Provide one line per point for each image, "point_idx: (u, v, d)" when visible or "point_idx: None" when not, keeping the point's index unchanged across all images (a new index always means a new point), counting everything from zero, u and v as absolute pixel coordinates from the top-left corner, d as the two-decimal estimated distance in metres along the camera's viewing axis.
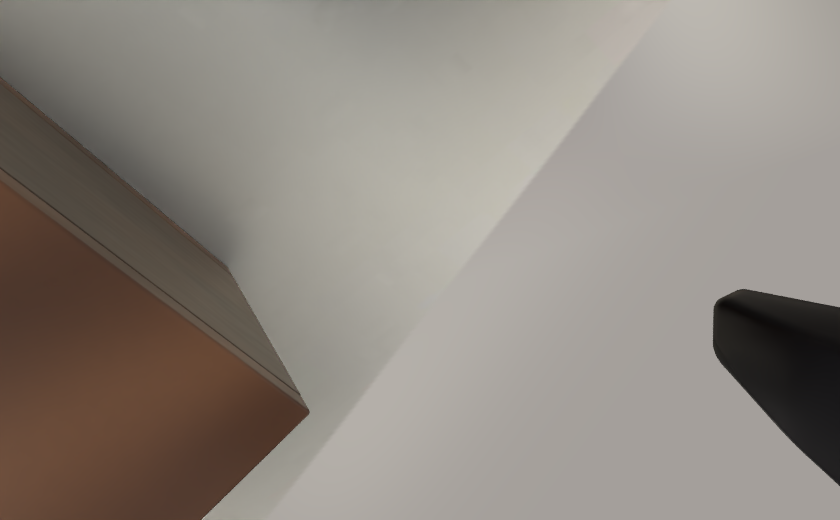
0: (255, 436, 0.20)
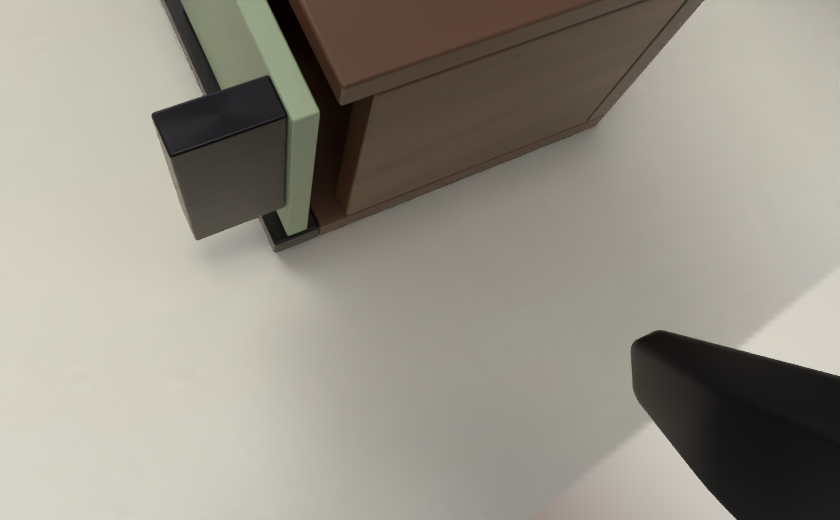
0: None
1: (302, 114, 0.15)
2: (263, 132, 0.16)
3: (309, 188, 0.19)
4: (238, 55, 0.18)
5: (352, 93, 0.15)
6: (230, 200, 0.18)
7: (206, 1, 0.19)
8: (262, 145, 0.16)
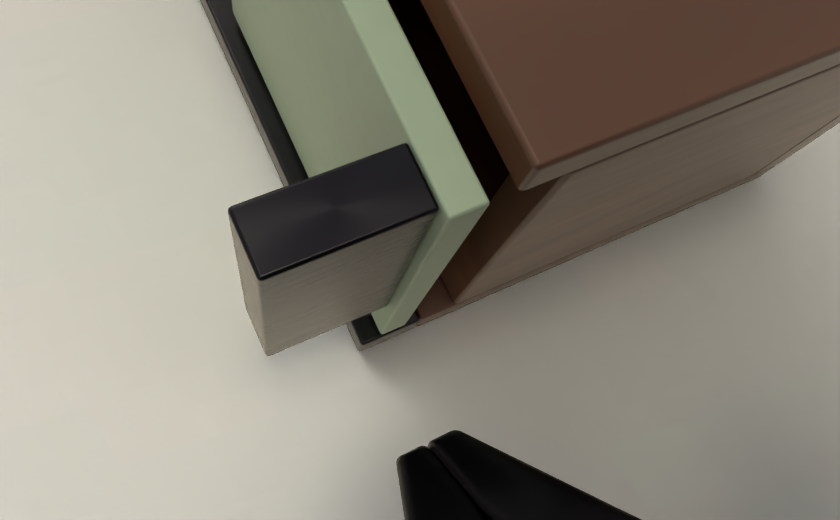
0: None
1: (463, 208, 0.10)
2: (399, 233, 0.10)
3: (430, 286, 0.14)
4: (338, 101, 0.12)
5: (545, 174, 0.10)
6: (324, 312, 0.13)
7: (286, 21, 0.14)
8: (390, 248, 0.11)
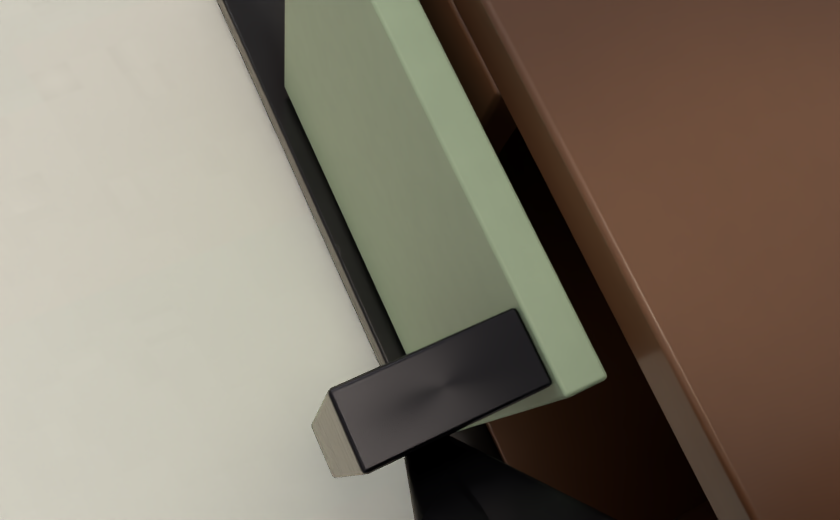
0: None
1: (579, 384, 0.09)
2: None
3: None
4: (420, 226, 0.12)
5: None
6: None
7: (358, 128, 0.13)
8: None
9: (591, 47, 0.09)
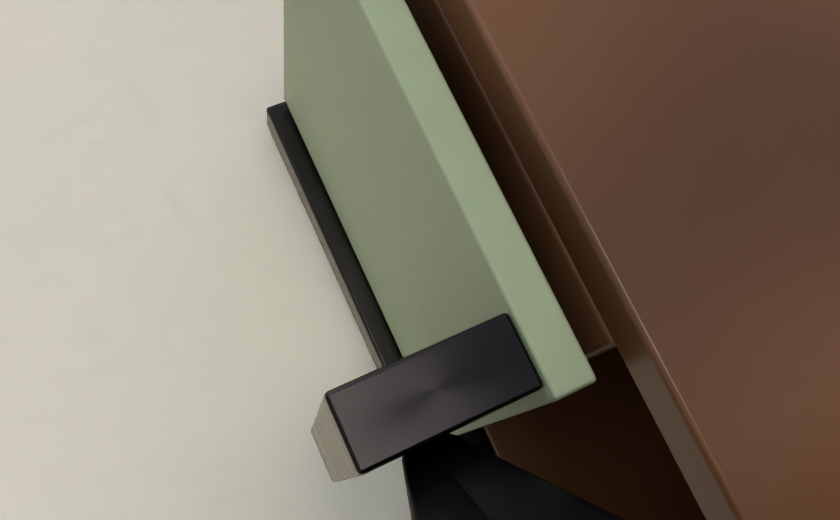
0: None
1: (570, 387, 0.09)
2: None
3: None
4: (416, 234, 0.12)
5: None
6: None
7: (355, 139, 0.13)
8: None
9: (717, 311, 0.09)
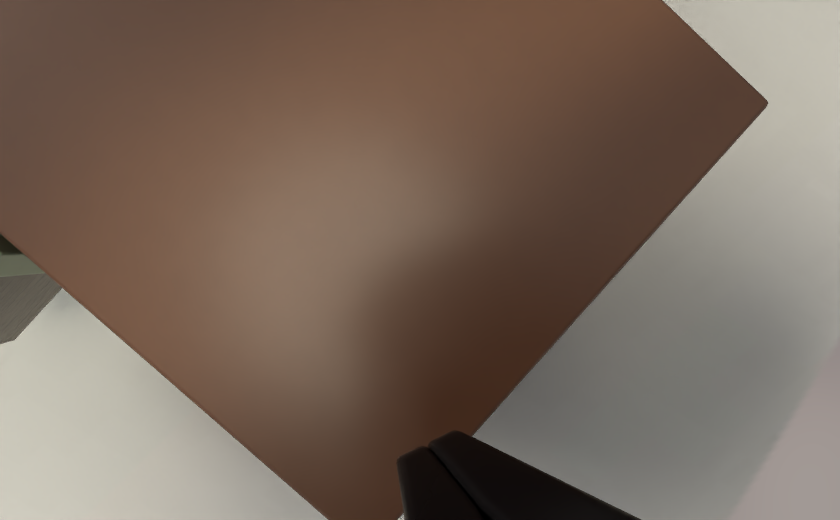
0: (686, 131, 0.13)
1: None
2: None
3: None
4: None
5: None
6: (5, 316, 0.16)
7: None
8: None
9: (35, 183, 0.12)
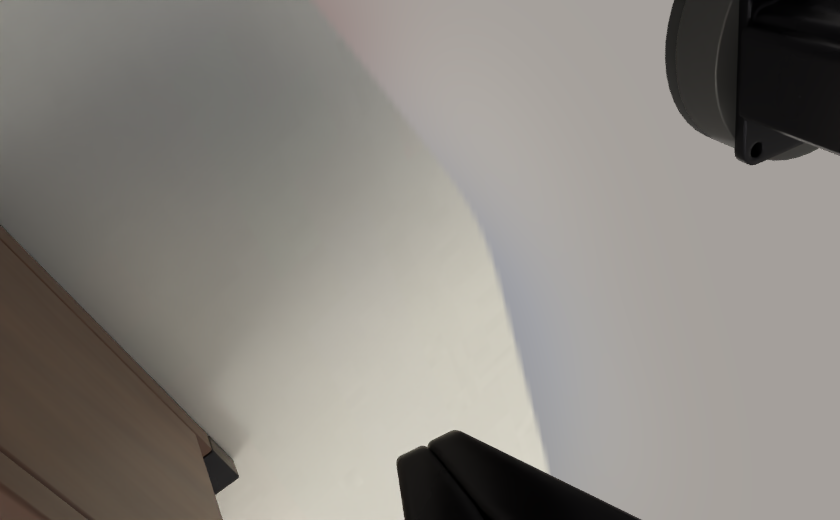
0: None
1: None
2: None
3: None
4: None
5: None
6: None
7: None
8: None
9: None
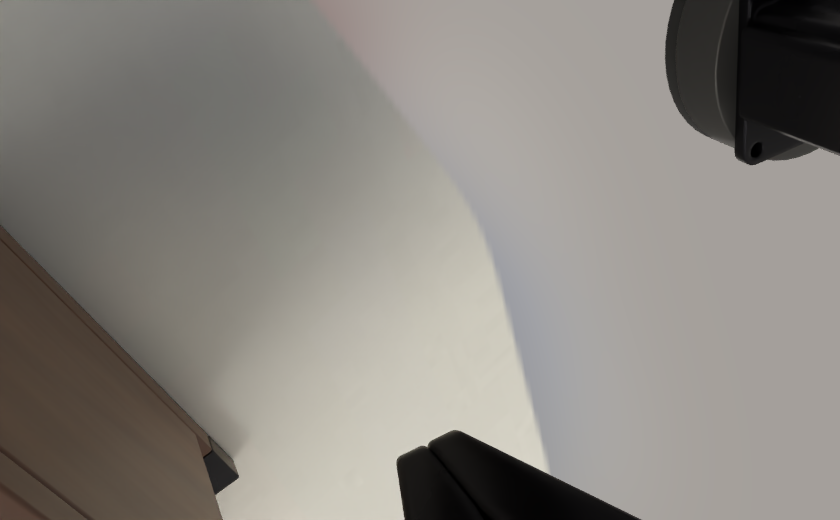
0: None
1: None
2: None
3: None
4: None
5: None
6: None
7: None
8: None
9: None
